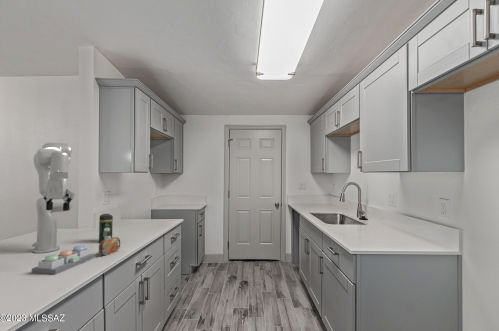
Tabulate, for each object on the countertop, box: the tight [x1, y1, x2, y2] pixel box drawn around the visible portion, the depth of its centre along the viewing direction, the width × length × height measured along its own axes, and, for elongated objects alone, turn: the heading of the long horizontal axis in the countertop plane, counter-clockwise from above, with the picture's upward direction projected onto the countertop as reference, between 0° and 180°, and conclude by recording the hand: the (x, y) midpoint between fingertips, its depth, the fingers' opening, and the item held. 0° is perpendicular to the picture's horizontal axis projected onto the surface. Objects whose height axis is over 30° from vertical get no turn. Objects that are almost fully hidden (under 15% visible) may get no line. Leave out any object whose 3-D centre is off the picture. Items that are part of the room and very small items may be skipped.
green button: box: [44, 254, 59, 262], centre depth 126 cm, size 5×5×3 cm
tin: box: [98, 236, 121, 256], centre depth 155 cm, size 15×3×8 cm, turn 168°
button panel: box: [31, 248, 95, 275], centre depth 134 cm, size 25×12×5 cm, turn 173°
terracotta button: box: [59, 249, 73, 257], centre depth 134 cm, size 5×5×3 cm
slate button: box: [72, 245, 85, 252], centre depth 142 cm, size 5×5×3 cm
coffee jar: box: [98, 213, 114, 244], centre depth 182 cm, size 10×8×19 cm
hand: (57, 210), depth 136 cm, fingers open, 9 cm apart
